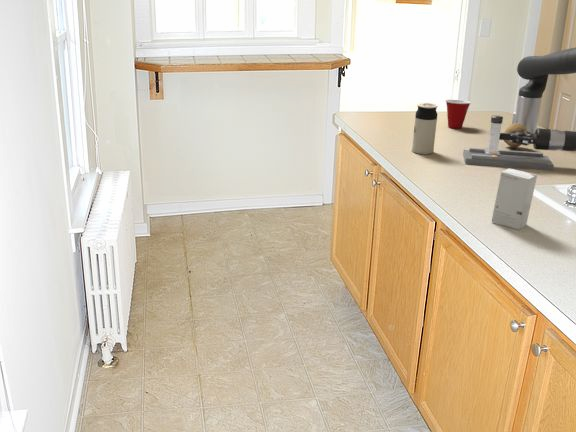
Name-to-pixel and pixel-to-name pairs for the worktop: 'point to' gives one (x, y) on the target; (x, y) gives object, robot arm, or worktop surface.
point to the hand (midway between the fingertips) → (498, 136)
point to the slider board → (508, 159)
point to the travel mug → (425, 128)
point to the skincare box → (514, 198)
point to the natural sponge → (511, 129)
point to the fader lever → (494, 136)
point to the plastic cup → (456, 112)
